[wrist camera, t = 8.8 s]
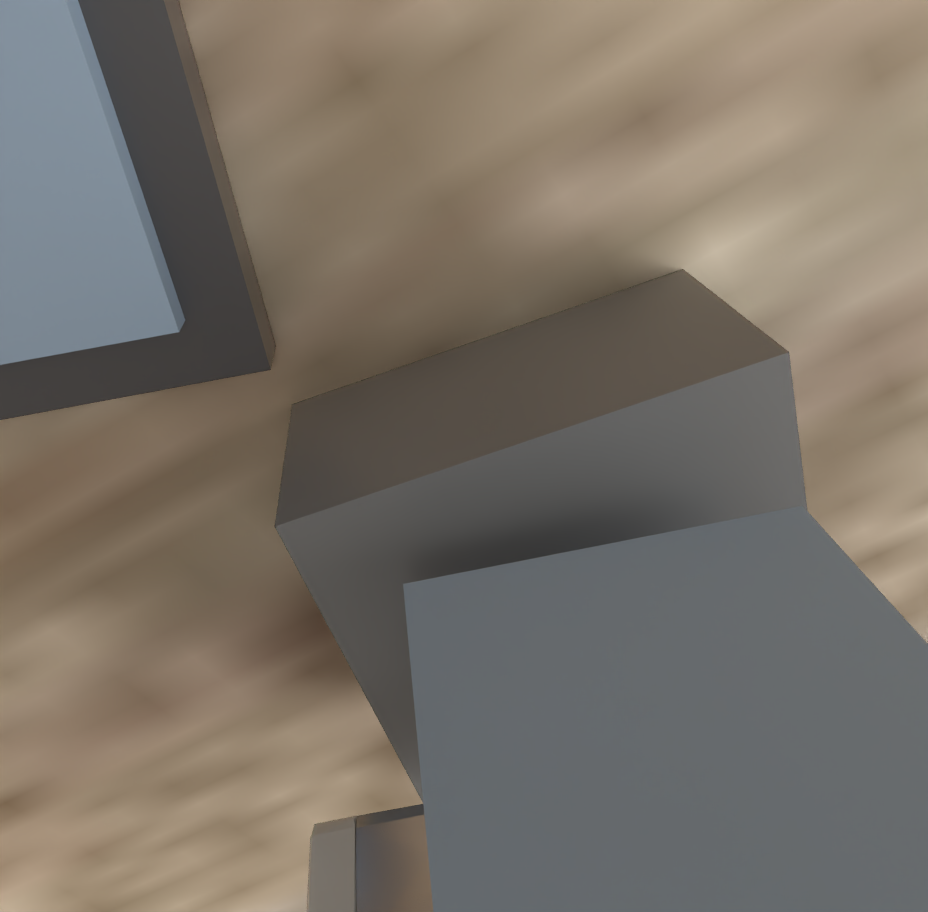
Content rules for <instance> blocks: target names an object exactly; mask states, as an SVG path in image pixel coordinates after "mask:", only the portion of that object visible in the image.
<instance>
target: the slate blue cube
mask: <svg viewBox="0 0 928 912" xmlns="http://www.w3.org/2000/svg"><path fill="white" fill-rule="evenodd" d="M403 589H404V600H405V611H406V622H407V633H408V643H409V654H410V665H411V676H412V687H413V697H414V708H415V719H416V730H417V740H418V751H419V762H420V773H421V784H422V794H423V805H424V816H425V827H426V838H427V848H428V859H429V870H430V881H431V892H432V902H433V912H928V644H927V643H926V642H925V641H924V639H923V638H922V637H921V636H920V635H919V634H918V633H917V632H916V631H915V630H914V628H913V627H912V626H911V625H910V624H909V623H908V622H907V621H906V620H905V619H904V617H903V616H902V615H901V614H900V613H899V612H898V611H897V610H896V609H895V608H894V606H893V605H892V604H891V603H890V602H889V601H888V600H887V599H886V598H885V596H884V595H883V594H882V593H881V592H880V591H879V590H878V589H877V588H876V587H875V585H874V584H873V583H872V582H871V581H870V580H869V579H868V578H867V577H866V576H865V574H864V573H863V572H862V571H861V570H860V569H859V568H858V567H857V566H856V564H855V563H854V562H853V561H852V560H851V559H850V558H849V557H848V556H847V555H846V553H845V552H844V551H843V550H842V549H841V548H840V547H839V546H838V545H837V544H836V542H835V541H834V540H833V539H832V538H831V537H830V536H829V535H828V534H827V533H826V531H825V530H824V529H823V528H822V527H821V526H820V525H819V524H818V523H817V521H816V520H815V519H814V518H813V517H812V516H811V515H810V514H809V513H808V512H807V510H806V509H805V508H804V507H803V506H798V507H793V508H788V509H783V510H778V511H773V512H768V513H763V514H758V515H752V516H747V517H742V518H737V519H732V520H727V521H722V522H717V523H712V524H707V525H701V526H696V527H691V528H686V529H681V530H676V531H671V532H666V533H661V534H656V535H650V536H645V537H640V538H635V539H630V540H625V541H620V542H615V543H610V544H605V545H599V546H594V547H589V548H584V549H579V550H574V551H569V552H564V553H559V554H553V555H548V556H543V557H538V558H533V559H528V560H523V561H518V562H513V563H508V564H502V565H497V566H492V567H487V568H482V569H477V570H472V571H467V572H462V573H457V574H451V575H446V576H441V577H436V578H431V579H426V580H421V581H416V582H411V583H405V584H403Z"/></svg>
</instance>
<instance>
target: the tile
mask: <svg viewBox="0 0 928 912" xmlns="http://www.w3.org/2000/svg"><path fill="white" fill-rule="evenodd" d="M275 347H276V345H275V342H274V338H273V335H272V331H271V328H270V324H269V320H268V317H267V313H266V310H265V306H264V303H263V299H262V296H261V292H260V289H259V285H258V281H257V278H256V274H255V271H254V267H253V264H252V260H251V257H250V253H249V249H248V246H247V242H246V239H245V235H244V232H243V228H242V225H241V221H240V218H239V214H238V210H237V207H236V203H235V200H234V196H233V193H232V189H231V186H230V182H229V178H228V175H227V171H226V168H225V164H224V161H223V157H222V154H221V150H220V147H219V143H218V139H217V136H216V132H215V129H214V125H213V122H212V118H211V115H210V111H209V107H208V104H207V100H206V97H205V93H204V90H203V86H202V83H201V79H200V76H199V72H198V68H197V65H196V61H195V58H194V54H193V51H192V47H191V44H190V40H189V36H188V33H187V29H186V26H185V22H184V19H183V15H182V12H181V8H180V5H179V1H178V0H0V420H3V419H8V418H13V417H19V416H24V415H29V414H35V413H40V412H46V411H51V410H56V409H62V408H67V407H73V406H78V405H83V404H89V403H94V402H100V401H105V400H110V399H116V398H121V397H126V396H132V395H137V394H143V393H148V392H153V391H159V390H164V389H170V388H175V387H180V386H186V385H191V384H196V383H202V382H207V381H213V380H218V379H223V378H229V377H234V376H240V375H245V374H250V373H256V372H261V371H266V370H271V366H272V361H273V357H274V352H275Z"/></svg>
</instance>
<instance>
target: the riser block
mask: <svg viewBox="0 0 928 912" xmlns="http://www.w3.org/2000/svg"><path fill="white" fill-rule="evenodd" d="M798 506H803V507H804V508H805V509H806V510H807V504H806V495H805V487H804V478H803V469H802V461H801V452H800V443H799V435H798V426H797V417H796V409H795V400H794V391H793V383H792V374H791V365H790V357H789V352H788V351H787V350H786V349H784V348H783V347H782V346H781V345H779V344H778V343H777V342H775V341H774V340H773V339H772V338H770V337H769V336H768V335H766V334H765V333H764V332H763V331H761V330H760V329H759V328H758V327H756V326H755V325H754V324H752V323H751V322H750V321H749V320H747V319H746V318H745V317H743V316H742V315H741V314H740V313H738V312H737V311H736V310H735V309H733V308H732V307H731V306H729V305H728V304H727V303H726V302H724V301H723V300H722V299H720V298H719V297H718V296H717V295H715V294H714V293H713V292H712V291H710V290H709V289H708V288H706V287H705V286H704V285H703V284H701V283H700V282H699V281H697V280H696V279H695V278H694V277H692V276H691V275H690V274H689V273H687V272H686V271H685V270H683V269H682V270H679V271H676V272H673V273H671V274H668V275H665V276H662V277H659V278H656V279H653V280H650V281H647V282H645V283H642V284H639V285H636V286H633V287H630V288H627V289H624V290H621V291H619V292H616V293H613V294H610V295H607V296H604V297H601V298H598V299H595V300H593V301H590V302H587V303H584V304H581V305H578V306H575V307H572V308H569V309H567V310H564V311H561V312H558V313H555V314H552V315H549V316H546V317H543V318H541V319H538V320H535V321H532V322H529V323H526V324H523V325H520V326H517V327H515V328H512V329H509V330H506V331H503V332H500V333H497V334H494V335H491V336H489V337H486V338H483V339H480V340H477V341H474V342H471V343H468V344H465V345H463V346H460V347H457V348H454V349H451V350H448V351H445V352H442V353H439V354H437V355H434V356H431V357H428V358H425V359H422V360H419V361H416V362H413V363H411V364H408V365H405V366H402V367H399V368H396V369H393V370H390V371H387V372H385V373H382V374H379V375H376V376H373V377H370V378H367V379H364V380H361V381H359V382H356V383H353V384H350V385H347V386H344V387H341V388H338V389H335V390H333V391H330V392H327V393H324V394H321V395H318V396H315V397H312V398H309V399H307V400H304V401H301V402H298V403H295V404H292V409H291V416H290V423H289V430H288V437H287V444H286V451H285V458H284V465H283V472H282V479H281V486H280V493H279V500H278V507H277V514H276V521H275V528H276V530H277V532H278V534H279V536H280V537H281V539H282V541H283V543H284V545H285V547H286V549H287V550H288V552H289V554H290V556H291V558H292V560H293V562H294V563H295V565H296V567H297V569H298V571H299V573H300V575H301V577H302V578H303V580H304V582H305V584H306V586H307V588H308V590H309V591H310V593H311V595H312V597H313V599H314V601H315V603H316V604H317V606H318V608H319V610H320V612H321V614H322V616H323V617H324V619H325V621H326V623H327V625H328V627H329V629H330V630H331V632H332V634H333V636H334V638H335V640H336V642H337V644H338V645H339V647H340V649H341V651H342V653H343V655H344V657H345V658H346V660H347V662H348V664H349V666H350V668H351V670H352V671H353V673H354V675H355V677H356V679H357V681H358V683H359V684H360V686H361V688H362V690H363V692H364V694H365V696H366V698H367V699H368V701H369V703H370V705H371V707H372V709H373V711H374V712H375V714H376V716H377V718H378V720H379V722H380V724H381V725H382V727H383V729H384V731H385V733H386V735H387V737H388V738H389V740H390V742H391V744H392V746H393V748H394V750H395V752H396V753H397V755H398V757H399V759H400V761H401V763H402V765H403V766H404V768H405V770H406V772H407V774H408V776H409V778H410V779H411V781H412V783H413V785H414V787H415V789H416V791H417V792H418V794H419V796H420V798H421V800H422V802H423V794H422V784H421V773H420V762H419V751H418V740H417V730H416V719H415V708H414V697H413V687H412V676H411V665H410V654H409V643H408V633H407V622H406V611H405V600H404V589H403V584H405V583H411V582H416V581H421V580H426V579H431V578H436V577H441V576H446V575H451V574H457V573H462V572H467V571H472V570H477V569H482V568H487V567H492V566H497V565H502V564H508V563H513V562H518V561H523V560H528V559H533V558H538V557H543V556H548V555H553V554H559V553H564V552H569V551H574V550H579V549H584V548H589V547H594V546H599V545H605V544H610V543H615V542H620V541H625V540H630V539H635V538H640V537H645V536H650V535H656V534H661V533H666V532H671V531H676V530H681V529H686V528H691V527H696V526H701V525H707V524H712V523H717V522H722V521H727V520H732V519H737V518H742V517H747V516H752V515H758V514H763V513H768V512H773V511H778V510H783V509H788V508H793V507H798Z"/></svg>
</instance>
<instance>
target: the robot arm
mask: <svg viewBox="0 0 928 912" xmlns="http://www.w3.org/2000/svg"><path fill="white" fill-rule="evenodd" d="M307 912H433V902H432V892H431V881H430V870H429V859H428V848H427V838H426V827H425V816H424V805H423V804H420V805H415V806H409V807H404V808H398V809H393V810H387V811H381V812H376V813H370V814H365V815H359V816H353V817H348V818H343V819H338V820H333V821H328V822H323V823H318V824H314V828H313V831H312V835H311V838H310V853H309V874H308V894H307Z"/></svg>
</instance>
